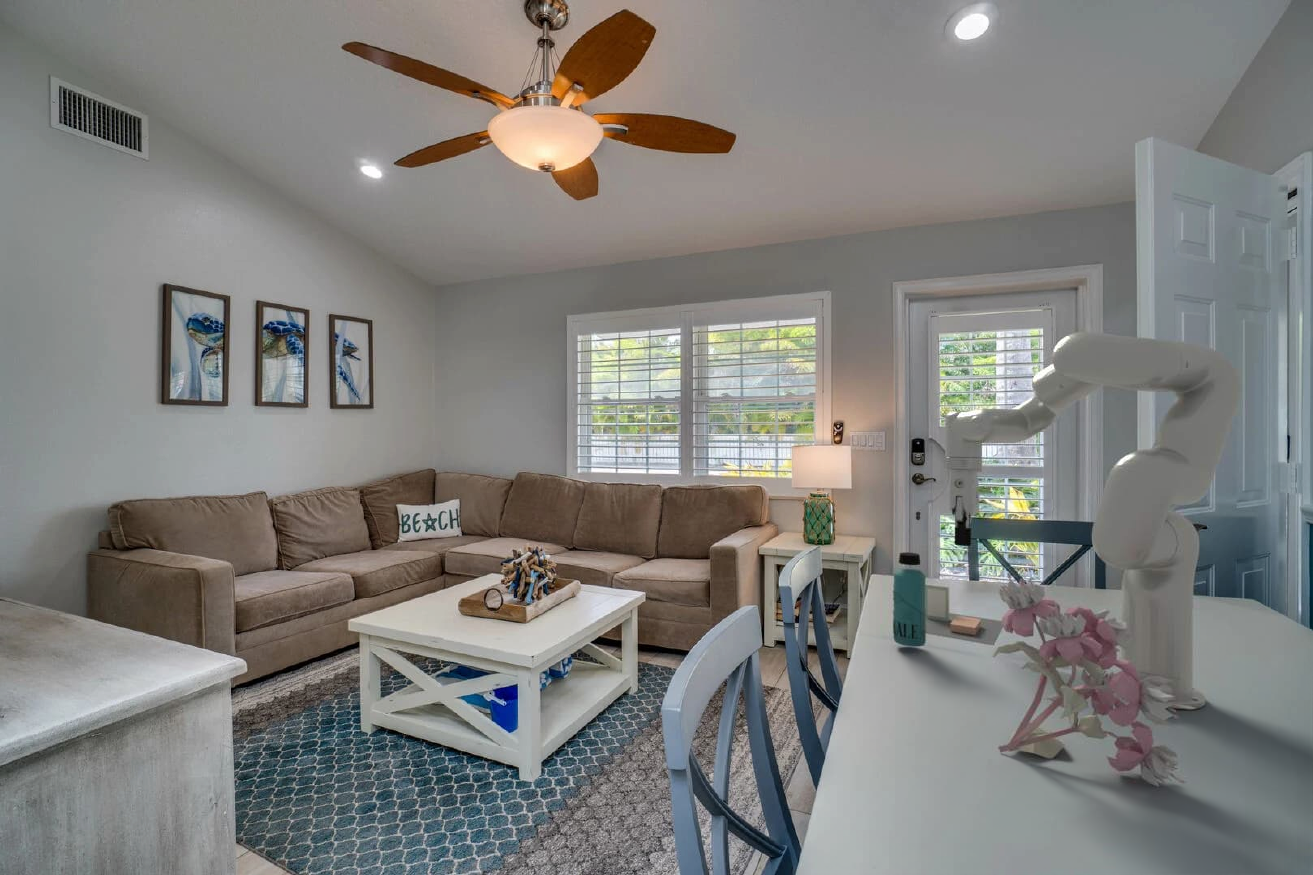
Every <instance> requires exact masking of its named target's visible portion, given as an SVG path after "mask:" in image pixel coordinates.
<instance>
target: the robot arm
mask: <svg viewBox="0 0 1313 875" xmlns="http://www.w3.org/2000/svg"><path fill="white" fill-rule="evenodd" d="M1242 385H1243V384H1242V378H1241V376H1240V373H1239V371H1238V369H1237V367H1236V366H1235V364H1234V363H1233V362H1232V361H1231V360H1230V359H1229V358H1228V357H1227V356H1225V355H1224V354H1222V353H1221V352H1219V351H1218V350H1216V349H1214V348H1212V347H1209V346H1206V345H1204V344H1200V343H1195V342H1191V341H1190V342H1188V341H1181V340H1170V339H1169V340H1168V339H1167V340H1166V339H1159V338H1158V339H1157V338H1146V337H1133V336H1123V335H1116V334H1112V333H1105V332H1094V331H1077V332H1074V333H1071V334H1068V335H1066V336H1065V337H1064V338H1062V339H1061V340H1059V342H1057V344H1056V345H1055V347H1054V348H1053V351H1052V354H1051V364H1050V365H1048V366H1047V367H1045V368H1043V369H1042V370H1040V371H1039V372H1037V373H1036V374H1035V375H1034V376H1033V378H1032V380H1031V386H1032V390H1033V392H1034V395H1033V396H1032V397H1030V398H1029V399H1027V400H1026V401H1024V402H1023V403H1021V404H1019V405H1018V406H1016V407H1013V408H1010V409H1009V408H981V409H975V410H955V411H950V412H948V413H946V416H945V441H944V442H945V444H944V445H945V451H944V454H945V458H944V459H945V462H944V466H945V468H944V469H945V470H944V471H945V472H949V476H950V477H949V512H950V515H952V516H954V545H955V546H963V547H970V546H971V545H972V527H971V526H972V517H974V516H975V515H977V514H978V513H980V493H979V492H980V491H979V490H980V488H979V487H980V486H979V473H982V472H983V444H984V445H985V444H987V445H988V444H990V445H991V444H1016V443H1021V442H1023V441H1026V440H1028V439H1030V438H1032V437H1034V436H1035V435H1037V434H1040V433H1041V432H1043V431H1045V430H1047V429H1048V428H1049V427H1051V426H1052V425H1054V424H1055V423H1056V422H1057V421H1058V420H1059V418H1060V417H1061V416H1062V414H1063V413H1064V411H1065V409H1067V408H1068V407H1070V406H1071V405H1074V404H1076V403H1077V402H1078V401H1080V400H1082V399H1083V398H1084V397H1087V396H1089V395H1090V394H1092V393H1094V392H1096V391H1098V390H1100V389H1101V388H1103V387H1104V386H1109V387H1113V388H1114V387H1115V388H1121V389H1125V390H1130V391H1131V390H1132V391H1140V392H1149V393H1150V392H1154V393H1155V392H1156V393H1172V394H1174V400H1173V403H1172V404H1171V405H1170V407H1169V408H1168V409H1167V411H1166V412H1165V414H1164V416H1163V417H1162V420H1161V422H1160V425H1159V429H1158V431H1157V432H1158V433H1157V435H1156V437H1155V441H1154V443H1153V444H1152V447H1151V448H1150V449H1140V450H1135V451H1133V452H1130V453H1127V454H1125V455H1124V456H1123V457H1121V458H1120V459H1119V460H1118V461H1117V462H1116V463H1115V464H1114V466H1113V468H1111V470H1110V472H1109V474H1108V477H1107V479H1106V483H1105V487H1104V488H1103V489H1104V490H1103V493H1102V495H1101V498H1100V502H1099V506H1098V508H1097V511H1096V515H1095V517H1094V522H1093V525H1092V529H1091V530H1092V531H1091V542H1092V547H1093V550H1094V551H1095V553H1096V555H1097V556H1098V558H1100V560H1101V561H1102V562H1103V563H1104V564H1107V565H1108V566H1110V567H1112V568H1115V569H1119V570H1124V572H1123V577H1122V582H1121V600H1120V601H1121V608H1120V610H1121V616H1120V617H1121V622H1120V623H1123V622H1127V623H1128V624H1129V628H1128V631H1127V633H1128V634H1127V635H1130V636H1129V637H1127V636H1125V638H1130V639H1132V640H1133V641H1132V643H1131V645H1130V648H1125V649H1124V648H1122V647H1121V646H1120V648H1121V650H1120V653H1121V656H1120V657H1121V658H1120V659H1123V660H1127V661H1130V662H1131V663H1132V665H1133V666H1134V667H1135V669H1136V671H1137V673H1138V677H1139V680H1140V683H1142V682H1143V681H1144V680H1145V679H1146V678H1148V677H1150V676H1160V677H1163V678H1166V679H1169V680H1172V682H1170V683H1167V684H1166V685H1167V686H1168V687H1170V688H1171V691H1172V692H1174V691H1177V692H1176V695H1172V694H1171V695H1172V696H1174V697H1173V698H1171V699H1175V700H1177V701H1169V700H1168V701H1169V702H1171V703H1173V704H1179V705H1185V706H1191V707H1193V708H1196V709H1200V708H1202V707H1204V706H1205V705H1206V696H1205V695H1204V694H1203V693H1202V692H1201V691H1200V690H1199V689H1196V688H1195V687H1194V686H1193V685H1194V683H1193V681H1194V680H1193V679H1194V678H1193V677H1194V675H1193V674H1194V673H1193V672H1194V671H1193V669H1194V667H1193V666H1194V664H1193V661H1194V658H1193V657H1194V654H1193V653H1194V649H1193V648H1194V646H1193V644H1194V634H1193V633H1194V632H1193V628H1194V627H1193V626H1194V624H1193V622H1194V620H1193V618H1194V617H1193V616H1194V614H1193V612H1194V610H1193V609H1194V584H1195V583H1194V582H1195V576H1196V575H1195V574H1196V568H1197V565H1198V560H1199V554H1200V538H1199V534H1198V531H1197V529H1196V527H1195V526H1194V524H1193V523H1192V522H1191V521H1190V520H1189V519H1187V518H1186V517H1185V516H1183V515H1182V514H1180V513H1178V512H1175V511H1172V510H1171V509H1170V508H1171V507H1181V506H1187V505H1193V504H1195V503H1197V502H1199V501H1201V500H1202V499H1204V498H1205V496H1206V495H1207V494H1208V492H1209V490H1210V488H1211V485H1212V482H1213V480H1214V479H1213V478H1214V476H1215V474H1216V470H1217V468H1218V465H1219V462H1220V460H1221V456H1222V454H1223V450H1224V448H1225V444H1226V440H1227V438H1228V434H1229V432H1230V429H1231V425H1232V423H1233V421H1234V418H1235V416H1236V413H1237V410H1238V408H1239V404H1240V401H1241V397H1242V392H1243V391H1242V390H1243V388H1242V387H1243V386H1242ZM1120 670H1121V671H1123V670H1122V669H1120ZM1168 708H1171V709H1175V710H1179V709H1180V710H1184V709H1183V708H1178V707H1173V706H1170V707H1168ZM1168 708H1167V709H1168Z"/></svg>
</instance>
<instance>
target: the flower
mask: <svg viewBox="0 0 1313 875" xmlns="http://www.w3.org/2000/svg"><path fill="white" fill-rule="evenodd" d="M1007 577H1008V580H1009V582H1008V584H1007V585H1005V584H1004V585H1002V586H1001V585H1000V588H999V593H998V594H999V596H1000V599H1001V600H1002V602H1004V603H1006V605H1007V606H1008V608H1009V610H1007V612H1006V613H1005V614H1004V615H1003V616H1002V618H1001V621H1002V623H1003V628H1002V629H1004V631H1005V632H1006V633H1010V634H1013V632H1014V633H1015V635H1018V636H1021V637H1023V638H1029V637H1034V624H1035V627H1036V629H1037V631H1038V634H1039V636H1040V639H1041V641H1042V644H1041V645H1040V647H1039V649H1038V648H1036V647H1034V646H1032V645H1029V644H1028V643H1025V641H1023V640H1022V641H1019V640H1018V641H1017V640H1016V641H1014V642H1011V643H1008V644H1005V645H1002V646H999V647H996V649H995V651H994V653H993V656H992V658H995V657H996V656H998V654H999V653H1001V654H1008V655H1009V654H1012V653H1013V654H1014V653H1017V652H1020V651H1022V652H1024V654H1026V655H1027V656H1028V657H1029V658H1030V659H1031V660H1032V661H1033V662H1032V661H1026V662H1025V664H1024V665H1023V666H1022V667H1021V669H1022V670H1024V669H1026V668H1027V669H1029V670H1030V671H1032V672H1035V673H1041V675H1040V678H1039V682H1038V684H1037V689H1036V692H1035V695H1034V698H1033V700H1032V702H1031V705H1030V707H1029V708H1028V710H1027V711H1026V714H1024V717H1023V719H1022V720H1021V722H1020V723H1019V725H1018V726H1017V727H1016V729H1015V730H1014V731H1013V732H1012V733H1011V734H1010V736H1009V743H1007V744H1004V745H1000V746H997V748H998V751H999V752H1000V753H1004V752H1007V753H1009V752H1014V751H1021V752H1026V753H1032V754H1035V755H1037V756H1039V757H1043V758H1045V759H1047V760H1048V759H1049V760H1051V759H1052V758H1055V757H1056V756H1057V755H1058V754H1059V753H1060V752H1061V750H1063V748H1064V747H1065V745H1066V744H1065V743H1064V742H1063V740H1061V738H1060V737H1061V736H1062V737H1063V736H1065V735H1069V734H1072V733H1081V734H1083V735H1084V736H1086V737H1087V738H1092V739H1098V740H1103V739H1105V738H1107V737H1108V736H1111V737H1114V738H1115V742H1114V745H1115V747H1116V749H1117V750H1116V752H1115V758H1113V757H1110V756H1108V755H1106V758H1107V761H1108V764H1109V766H1110V767H1111V768H1113V769H1115V770H1116V771H1118V772H1127V771H1128V772H1129V771H1132V770H1133V769H1135V768H1136V767H1137V766H1138V765H1140V775H1141V776H1140V777H1141V778H1142V779H1143V780H1144V781H1146V783H1148V784H1151V785H1153V786H1156V787H1160V785H1159V783H1158V780H1160V781H1161V782H1162V783H1163V784H1164V785H1165V786H1167V784H1166V782H1165V780H1169V781H1170V782H1171V783H1173V780H1172V779H1171V778H1173V779H1175V780H1176V781H1178V782H1179V783H1182V784H1185V783H1187V782H1186V781H1185V780H1182V779H1180V778H1179V777H1178V776H1175V774H1173V773H1172V772H1174V771H1175V770H1178V769H1179V768H1177V767H1178V764H1180V762H1178V761H1177V760H1175V759H1174V758H1178V754H1177V752H1176V751H1175V750H1173V749H1172V748H1170V747H1168V746H1167V745H1165V744H1163V745H1155V746H1153V745H1154V742H1155V741H1154V738H1153V730H1152V729H1151V727H1150V726H1148V725H1147V724H1144V723H1142V722H1141V721H1139V720H1136V719H1137V718H1138V715H1139V711H1141V713H1142V714H1143V716H1144V718H1145V719H1146V720H1148V721H1149V722H1151V723H1153V724H1154V725H1161V726H1170V723H1169V722H1167V721H1166V720H1167V719H1169V718H1171V717H1174V718H1175V719H1176V720H1180V718H1179V717H1180V716H1179V715H1178V714H1176V713H1177V711H1176V710H1177V709H1175V708H1168V707H1170V706H1173V707H1178V708H1183V709H1182V710H1196V709H1197V708H1193V707H1191V706H1185V705H1179V704H1173V703H1171V702H1169V701H1177V700H1175V699H1171V698H1173V697H1174V696H1172V695H1176V692H1177V691H1174V692H1172V691H1171V688H1170V687H1168V686H1167V685H1166V684H1167V683H1170V682H1172V680H1169V679H1166V678H1163V677H1160V676H1150V677H1148V678H1146V679H1145V680H1144V681H1143V682H1142V683H1140V680H1139V677H1138V673H1137V671H1136V669H1135V667H1134V666H1133V665H1132V663H1131V662H1130V661H1127V660H1123V659H1121V658H1118V659H1117V656H1118V654H1117V653H1118V652H1121V650H1120V649H1118V648H1117V646H1119V647H1120V648H1121V647H1122V648H1124V649H1125V648H1130V645H1131V643H1132V641H1133V640H1132V639H1130V638H1125V636H1127V637H1129V636H1130V635H1127V634H1128V633H1127V631H1128V628H1129V624H1128V623H1127V622H1123V623H1121V622H1117V618H1116V617H1113V618H1112V619H1110V618H1108V620H1106V617H1107V616H1108V615H1109V613H1110V612H1111V610H1110V609H1108V608H1106V609H1103V610H1101V611H1099V612H1097V613H1094V612H1093V610H1092V609H1090V608H1088V607H1085V606H1082V605H1079V606H1073V607H1072V606H1071V607H1067V609H1066V611H1065V613H1061V606H1060V604H1058V603H1057V602H1056V601H1055V600H1053V599H1051V598H1045V595H1046V593H1045V588H1044V587H1043V586H1042V585H1041V584H1034V583H1033V581H1032V579H1031V577H1029V578H1028V580H1027V581H1026V580H1025V579H1023V578H1020V580H1019V581H1018V583H1019V586H1018V585H1016V584H1015V583H1014V581H1013V580H1012V579H1011V573H1009V572H1007ZM1037 617H1038V618H1039V621H1037ZM1045 635H1048V636H1051V637H1052V638H1053V637H1054V638H1053V639H1050V640H1047V641H1046V638H1045ZM1070 666H1071V675H1070V677H1069V679H1068V681H1067V683H1066V682H1065V680H1064V678H1062V676H1061V675H1060V673H1059V671H1058V670H1057V669H1058V668H1066V667H1070ZM1113 666H1115V667H1116V668H1119V669H1120V670H1121V669H1122V670H1123V671H1119V672H1116V673H1114V671H1111V672H1110V673H1106V672H1107V670H1110V669H1111V668H1112V667H1113ZM1077 667H1078V668H1081V669H1082V668H1083V669H1082V674H1081V679H1080V680H1081V681H1082V682H1083V683H1084V684H1082V685H1077V686H1074V687H1072V685H1073V683H1074V681H1075V679H1076V675H1077V674H1076V673H1077ZM1021 669H1020V670H1021ZM1088 674H1089V675H1088ZM1048 680H1049V681H1050V684H1051V685H1052V687H1053V690H1054V691H1055V694H1049V695H1048V696H1046V697H1044V698H1043V695H1044V692H1045V689H1046V684H1047V681H1048ZM1114 694H1115V695H1116V696H1117V697H1116V696H1115V695H1114ZM1171 694H1172V695H1171ZM1089 698H1090V699H1091V700H1090V701H1091V708H1092V709H1093V712H1092V714H1089V715H1086V716H1084V717H1080V720H1079V718H1078V716H1079V713H1082V712H1084V711H1086V710H1087V709H1088V708H1089V703H1088V701H1087V700H1088V699H1089ZM1042 700H1048V701H1049V700H1050V701H1051V702H1052V703H1051V704H1049V705H1048V706H1047V707H1046V708H1045V709H1044V710H1043V711H1042V712H1041V713H1040V714H1039V715H1038V716H1036V717H1035V719H1033V720H1032V718H1033V716H1034V714H1035V712H1036V711H1037V710H1038V707H1039V706H1040V704H1041V702H1042ZM1121 700H1122V701H1121ZM1168 700H1169V701H1168ZM1123 701H1124V702H1127V703H1128V704H1125V703H1124V702H1123ZM1059 707H1062V708H1063V709H1064V711H1063V713H1062V715H1061V717H1060V719H1064V718H1067V717H1068V718H1067V719H1068V722H1069V726H1070V727H1069V728H1065V729H1061V730H1059V731H1054V732H1052V731H1051V730H1049V729H1046V728H1044V727H1042V726H1040V725H1042V723H1043V722H1045V720H1046V719H1048V717H1049V716H1050V715H1051V714H1052V713H1054V712H1055V710H1056V709H1058V708H1059ZM1114 707H1115V708H1114ZM1167 709H1168V710H1167ZM1169 710H1170V711H1172V712H1174V714H1173V713H1172V712H1170V711H1169ZM1098 715H1100V716H1103V717H1104V716H1108V717H1109V719H1110V721H1112V722H1113V724H1115V725H1117V726H1119V727H1121V728H1124V727H1128V726H1130V725H1131V728H1132V730H1131V731H1130V732H1131V733H1132V735H1133V737H1134V738H1135V739H1134V738H1133V737H1131V736H1121V735H1120V736H1119V735H1116V734H1115V733H1114V732H1112V731H1107V730H1104V729H1103V728H1102V723H1103V722H1102V721H1101V720H1100V719H1099V717H1098ZM1031 720H1032V721H1031ZM1030 721H1031V722H1030ZM1170 771H1171V772H1170ZM1169 777H1171V778H1169ZM1157 779H1158V780H1157Z"/></svg>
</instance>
